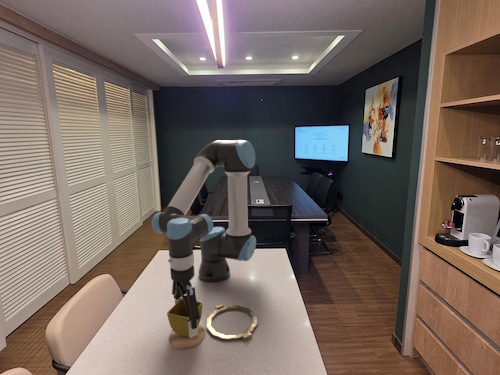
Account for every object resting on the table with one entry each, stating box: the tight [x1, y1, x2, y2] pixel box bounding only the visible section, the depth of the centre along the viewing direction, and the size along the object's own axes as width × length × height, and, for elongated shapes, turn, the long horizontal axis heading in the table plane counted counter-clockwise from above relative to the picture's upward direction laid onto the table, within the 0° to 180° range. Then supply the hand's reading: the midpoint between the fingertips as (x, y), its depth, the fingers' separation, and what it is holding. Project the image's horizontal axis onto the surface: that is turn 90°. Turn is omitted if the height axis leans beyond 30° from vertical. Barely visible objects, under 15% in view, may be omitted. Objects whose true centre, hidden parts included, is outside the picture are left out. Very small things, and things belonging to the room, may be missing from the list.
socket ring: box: [206, 303, 258, 343], centre depth 103 cm, size 21×18×2 cm
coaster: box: [168, 323, 206, 350], centre depth 96 cm, size 12×12×1 cm
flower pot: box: [166, 299, 203, 337], centre depth 95 cm, size 9×9×9 cm
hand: (186, 325), depth 96 cm, fingers closed on flower pot, 12 cm apart
